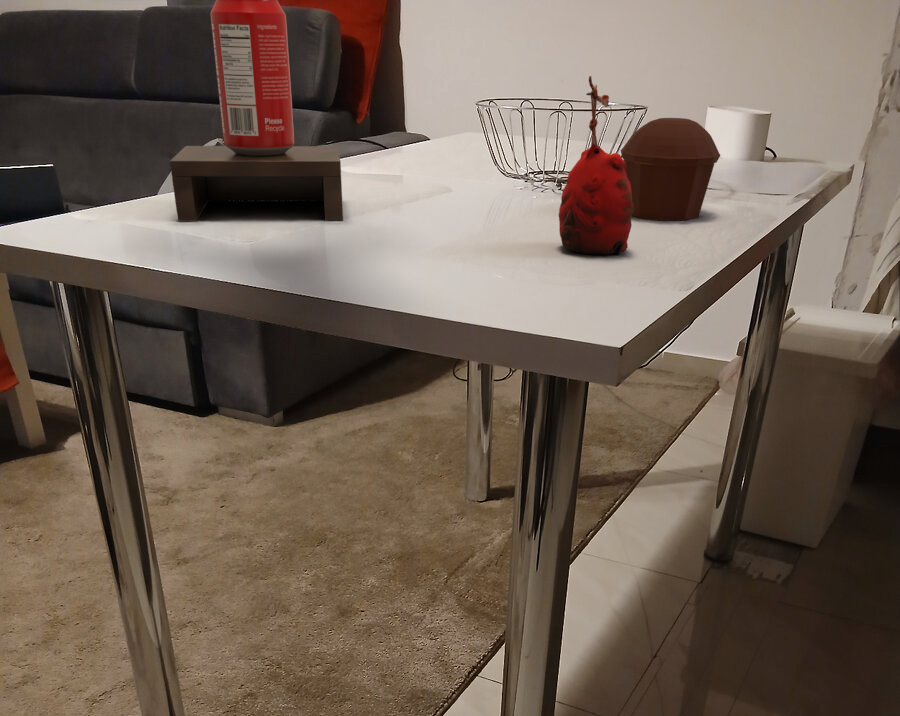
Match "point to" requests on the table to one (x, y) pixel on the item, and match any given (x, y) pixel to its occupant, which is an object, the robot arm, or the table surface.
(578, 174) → the red clay folk toy
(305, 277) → the table surface
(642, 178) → the muffin
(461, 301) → the table surface
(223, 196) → the stand
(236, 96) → the soda can
